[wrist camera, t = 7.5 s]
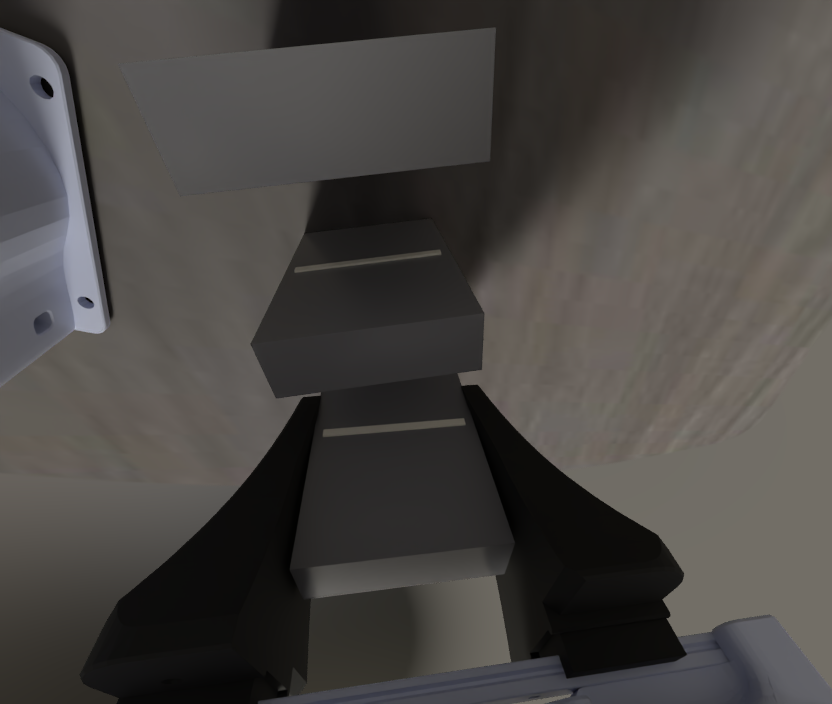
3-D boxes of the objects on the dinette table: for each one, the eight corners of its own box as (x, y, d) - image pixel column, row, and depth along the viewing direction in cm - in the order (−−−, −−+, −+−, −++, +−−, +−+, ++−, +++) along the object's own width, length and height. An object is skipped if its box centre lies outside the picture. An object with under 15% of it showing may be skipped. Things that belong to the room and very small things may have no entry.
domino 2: (433, 258, 14) (481, 371, 8) (315, 273, 14) (277, 400, 8) (431, 216, 13) (484, 310, 7) (303, 231, 13) (249, 341, 7)
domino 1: (427, 133, 12) (489, 166, 6) (280, 149, 11) (181, 200, 5) (423, 67, 10) (496, 20, 5) (262, 83, 10) (114, 55, 4)
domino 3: (448, 385, 15) (503, 575, 9) (332, 393, 14) (304, 600, 8) (450, 352, 14) (515, 541, 8) (326, 360, 13) (289, 568, 7)
